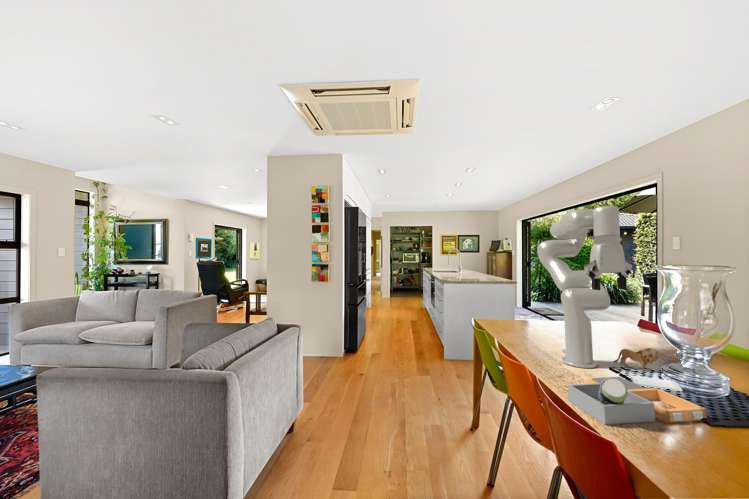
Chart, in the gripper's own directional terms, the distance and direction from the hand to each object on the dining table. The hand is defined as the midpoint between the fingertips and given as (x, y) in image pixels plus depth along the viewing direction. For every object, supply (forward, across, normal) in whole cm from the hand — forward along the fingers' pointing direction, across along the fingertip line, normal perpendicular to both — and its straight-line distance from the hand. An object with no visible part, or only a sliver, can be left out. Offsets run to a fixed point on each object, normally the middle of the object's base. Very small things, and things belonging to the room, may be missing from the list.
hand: (609, 289), depth 111 cm
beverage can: (+31, +15, +16) cm, 38 cm away
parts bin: (+33, +16, +17) cm, 41 cm away
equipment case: (+33, +1, +11) cm, 35 cm away
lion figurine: (+34, -22, -14) cm, 43 cm away
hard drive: (+34, -14, +2) cm, 37 cm away
